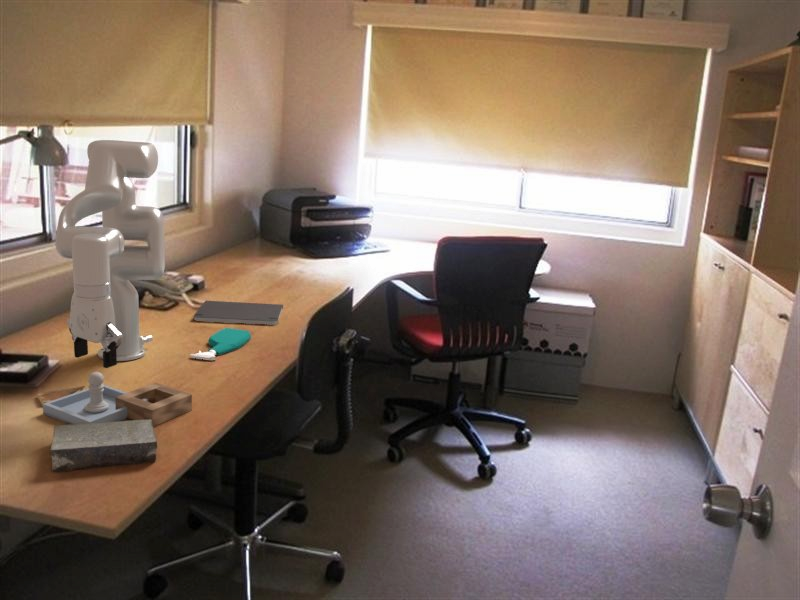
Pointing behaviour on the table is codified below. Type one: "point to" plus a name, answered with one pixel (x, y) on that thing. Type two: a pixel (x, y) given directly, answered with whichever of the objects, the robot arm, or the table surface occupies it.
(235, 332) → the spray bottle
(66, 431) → the stone block
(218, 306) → the notebook
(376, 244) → the table surface
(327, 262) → the table surface
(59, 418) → the tray
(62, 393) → the shard
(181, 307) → the table surface
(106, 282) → the robot arm
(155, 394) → the square wooden frame
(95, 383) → the chess piece
